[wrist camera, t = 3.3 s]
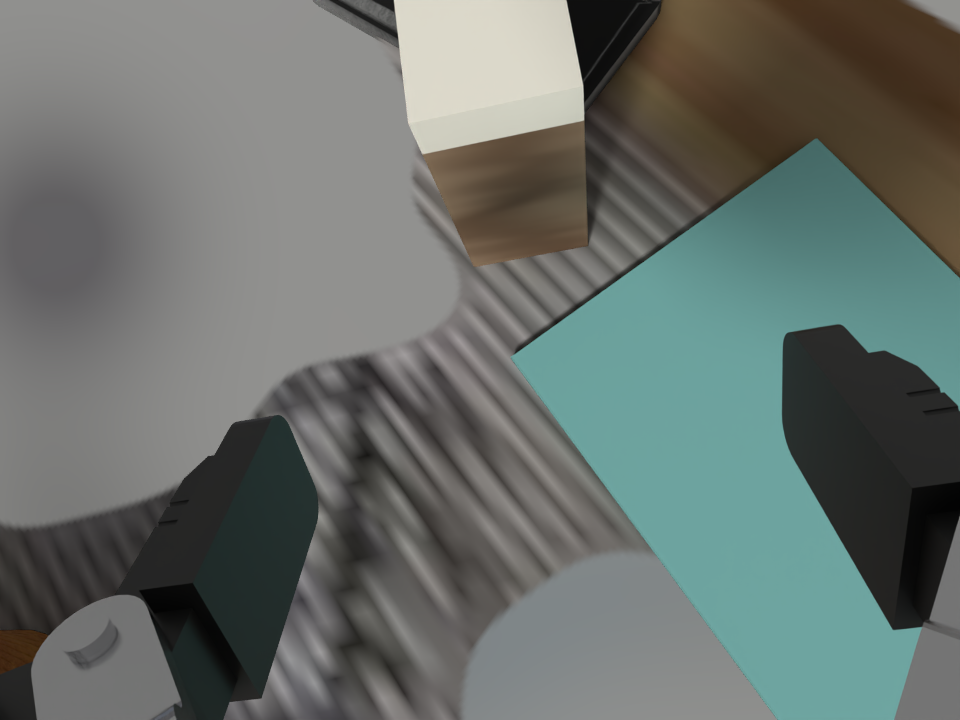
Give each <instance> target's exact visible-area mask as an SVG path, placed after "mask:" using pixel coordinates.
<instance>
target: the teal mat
mask: <svg viewBox="0 0 960 720" xmlns="http://www.w3.org/2000/svg"><path fill="white" fill-rule="evenodd" d="M836 324H841V325H843V326H844V327H845V328H846V329H847V330H848V331H849V332H850V333H851V334H852V335H853V336H854V338H855V339H856V340H857V341H858V342H859V343H860V344H861V345H862V346H863V347H864V348H865V349H866V351H867V352H868V353H870V352H877V351H883V350H885V351H887V352H889V353H891V354H894V355H896V356H898V357H900V358H902V359H904V360H906V361H908V362H910V363H912V364H915V365H917V366H918V367H919V368H920V369H922V370H923V371H924V372H925V373H926V374H927V375H928V376H929V377H930V378H931V379H932V380H933V381H934V382H935V383H936V384H937V385H938V386H939V387H940V391H941V393H942V392H945V393H946V394H947V395H948V396H949V397H950V398H951V399H952V400H953V401H954V402H955V403H956V404H957V405H958V409H959V411H960V278H959V277H958V276H957V275H956V274H955V273H954V272H953V271H952V270H951V269H950V268H949V267H948V266H947V265H946V264H945V263H944V262H943V261H942V260H941V259H940V258H939V257H938V256H937V255H936V254H935V253H933V252H932V251H931V250H930V249H929V248H928V247H927V246H926V245H925V244H924V243H923V242H922V241H921V240H920V239H919V238H918V237H917V236H916V235H915V234H914V233H913V232H912V231H911V230H910V229H909V228H908V227H907V226H906V225H905V224H904V223H903V222H902V221H901V220H900V219H899V218H898V217H897V216H896V215H895V214H894V213H893V212H892V211H891V210H890V209H889V208H888V207H887V206H886V205H884V204H883V203H882V202H881V201H880V200H879V199H878V198H877V197H876V196H875V195H874V194H873V193H872V192H871V191H870V190H869V189H868V188H867V187H866V186H865V185H864V184H863V183H862V182H861V181H860V180H859V179H858V178H857V177H856V176H855V175H854V174H853V173H852V172H851V171H850V170H849V169H848V168H847V167H846V166H845V165H844V164H843V163H842V162H841V161H840V160H839V159H838V158H837V157H835V156H834V155H833V154H832V153H831V152H830V151H829V150H828V149H827V148H826V147H825V146H824V145H823V144H822V143H821V142H820V141H819V140H818V139H817V138H816V139H814V140H813V141H812V142H810V143H809V144H807V145H806V146H805V147H803V148H802V149H800V150H799V151H798V152H796V153H795V154H793V155H792V156H791V157H789V158H788V159H787V160H785V161H784V162H782V163H781V164H780V165H778V166H777V167H775V168H774V169H773V170H771V171H770V172H768V173H767V174H766V175H764V176H763V177H761V178H760V179H759V180H757V181H756V182H754V183H753V184H752V185H750V186H749V187H747V188H746V189H745V190H743V191H742V192H740V193H739V194H738V195H736V196H735V197H733V198H732V199H731V200H729V201H728V202H727V203H725V204H724V205H722V206H721V207H720V208H718V209H717V210H715V211H714V212H713V213H711V214H710V215H708V216H707V217H706V218H704V219H703V220H701V221H700V222H699V223H697V224H696V225H694V226H693V227H692V228H690V229H689V230H687V231H686V232H685V233H683V234H682V235H680V236H679V237H678V238H676V239H675V240H673V241H672V242H671V243H669V244H668V245H667V246H665V247H664V248H662V249H661V250H660V251H658V252H657V253H655V254H654V255H653V256H651V257H650V258H648V259H647V260H646V261H644V262H643V263H641V264H640V265H639V266H637V267H636V268H634V269H633V270H632V271H630V272H629V273H627V274H626V275H625V276H623V277H622V278H620V279H619V280H618V281H616V282H615V283H613V284H612V285H611V286H609V287H608V288H607V289H605V290H604V291H602V292H601V293H600V294H598V295H597V296H595V297H594V298H593V299H591V300H590V301H588V302H587V303H586V304H584V305H583V306H581V307H580V308H579V309H577V310H576V311H574V312H573V313H572V314H570V315H569V316H567V317H566V318H565V319H563V320H562V321H560V322H559V323H558V324H556V325H555V326H553V327H552V328H551V329H549V330H548V331H547V332H545V333H544V334H542V335H541V336H540V337H538V338H537V339H535V340H534V341H533V342H531V343H530V344H528V345H527V346H526V347H524V348H523V349H521V350H520V351H519V352H517V353H516V354H514V355H513V356H512V357H511V359H512V361H513V362H514V363H515V365H516V366H517V367H518V369H519V370H520V371H521V373H522V374H523V376H524V377H525V378H526V380H527V381H528V382H529V384H530V385H531V386H532V388H533V389H534V390H535V392H536V393H537V395H538V396H539V397H540V399H541V400H542V401H543V403H544V404H545V405H546V407H547V408H548V409H549V411H550V412H551V413H552V415H553V416H554V418H555V419H556V420H557V422H558V423H559V424H560V426H561V427H562V428H563V430H564V431H565V432H566V434H567V435H568V437H569V438H570V439H571V441H572V442H573V443H574V445H575V446H576V447H577V449H578V450H579V451H580V453H581V454H582V456H583V457H584V458H585V460H586V461H587V462H588V464H589V465H590V466H591V468H592V469H593V470H594V472H595V473H596V475H597V476H598V477H599V479H600V480H601V481H602V483H603V484H604V485H605V487H606V488H607V489H608V491H609V492H610V493H611V495H612V496H613V498H614V499H615V500H616V502H617V503H618V504H619V506H620V507H621V508H622V510H623V511H624V512H625V514H626V515H627V517H628V518H629V519H630V521H631V522H632V523H633V525H634V526H635V527H636V529H637V530H638V531H639V533H640V534H641V536H642V537H643V538H644V540H645V541H646V542H647V544H648V545H649V546H650V548H651V549H652V550H653V552H654V553H655V555H656V556H657V557H658V559H659V560H660V561H661V563H662V564H663V565H664V567H665V568H666V569H667V571H668V572H669V573H670V575H671V576H672V578H673V579H674V580H675V581H676V583H677V584H678V586H679V587H680V588H681V590H682V591H683V592H684V594H685V595H686V596H687V598H688V599H689V601H690V602H691V603H692V605H693V606H694V607H695V609H696V610H697V611H698V613H699V614H700V616H701V617H702V618H703V620H704V621H705V622H706V624H707V625H708V626H709V628H710V629H711V630H712V632H713V633H714V634H715V636H716V637H717V638H718V640H719V641H720V643H721V644H722V645H723V647H724V648H725V649H726V650H727V652H728V653H729V655H730V656H731V658H732V659H733V660H734V662H735V663H736V664H737V666H738V667H739V668H740V670H741V671H742V672H743V674H744V675H745V677H746V678H747V679H748V681H749V682H750V683H751V685H752V686H753V687H754V689H755V690H756V691H757V693H758V694H759V696H760V697H761V698H762V700H763V701H764V702H765V704H766V705H767V706H768V708H769V709H770V710H771V712H772V713H773V714H774V716H775V717H776V718H777V720H894V718H895V715H896V711H897V708H898V705H899V701H900V698H901V695H902V691H903V688H904V685H905V681H906V678H907V675H908V671H909V668H910V665H911V661H912V658H913V655H914V651H915V648H916V645H917V641H918V638H919V635H920V632H921V629H922V627H919V628H910V629H901V630H892V628H891V626H890V624H889V623H888V621H887V619H886V618H885V616H884V614H883V612H882V611H881V609H880V607H879V605H878V604H877V602H876V600H875V599H874V597H873V595H872V593H871V592H870V590H869V588H868V587H867V585H866V583H865V581H864V580H863V578H862V576H861V574H860V573H859V571H858V569H857V568H856V566H855V564H854V562H853V561H852V559H851V557H850V556H849V554H848V552H847V550H846V549H845V547H844V545H843V543H842V542H841V540H840V538H839V537H838V535H837V533H836V531H835V530H834V528H833V526H832V525H831V523H830V521H829V519H828V518H827V516H826V514H825V512H824V511H823V509H822V507H821V506H820V504H819V502H818V500H817V499H816V497H815V495H814V494H813V492H812V490H811V488H810V487H809V485H808V483H807V481H806V480H805V478H804V476H803V475H802V473H801V471H800V469H799V468H798V466H797V464H796V463H795V461H794V459H793V457H792V455H791V453H790V451H789V449H788V446H787V443H786V439H785V435H784V430H783V424H782V359H783V340H784V337H785V335H786V334H787V333H788V332H793V331H799V330H805V329H811V328H817V327H824V326H830V325H836Z"/></svg>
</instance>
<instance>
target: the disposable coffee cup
mask: <svg viewBox="0 0 960 720" xmlns="http://www.w3.org/2000/svg"><path fill="white" fill-rule="evenodd" d="M47 637H48V635H47V634H44V633H41V632H37V631H34V630H0V674H2V673H5V672H7V671H10V670H12V669H15V668H17V667H20V666H23V665H25V664H28V663H30V662H33V660H34V658H35V656H36V654H37V652H38V650H39V648H40V647H41V645H42V644H43V642H44V641H45V640H46V639H47Z"/></svg>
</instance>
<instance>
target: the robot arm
mask: <svg viewBox="0 0 960 720" xmlns="http://www.w3.org/2000/svg"><path fill="white" fill-rule="evenodd" d="M782 424H783V430H784V435H785V439H786V443H787V446H788V449H789V451H790V453H791V455H792V457H793V459H794V461H795V463H796V464H797V466H798V468H799V469H800V471H801V473H802V475H803V476H804V478H805V480H806V481H807V483H808V485H809V487H810V488H811V490H812V492H813V494H814V495H815V497H816V499H817V500H818V502H819V504H820V506H821V507H822V509H823V511H824V512H825V514H826V516H827V518H828V519H829V521H830V523H831V525H832V526H833V528H834V530H835V531H836V533H837V535H838V537H839V538H840V540H841V542H842V543H843V545H844V547H845V549H846V550H847V552H848V554H849V556H850V557H851V559H852V561H853V562H854V564H855V566H856V568H857V569H858V571H859V573H860V574H861V576H862V578H863V580H864V581H865V583H866V585H867V587H868V588H869V590H870V592H871V593H872V595H873V597H874V599H875V600H876V602H877V604H878V605H879V607H880V609H881V611H882V612H883V614H884V616H885V618H886V619H887V621H888V623H889V624H890V626H891V628H892V630H901V629H910V628H919V627H922V629H921V632H920V635H919V638H918V641H917V645H916V648H915V651H914V655H913V658H912V661H911V665H910V668H909V671H908V675H907V678H906V681H905V685H904V688H903V691H902V695H901V698H900V701H899V705H898V708H897V711H896V715H895V718H894V720H960V411H959V409H958V405H957V404H956V403H955V402H954V401H953V400H952V399H951V398H950V397H949V396H948V395H947V394H946V393H945V392H942V393H941V391H940V387H939V386H938V385H937V384H936V383H935V382H934V381H933V380H932V379H931V378H930V377H929V376H928V375H927V374H926V373H925V372H924V371H923V370H922V369H920V368H919V367H918V366H917V365H915V364H912V363H910V362H908V361H906V360H904V359H902V358H900V357H898V356H896V355H894V354H891V353H889V352H887V351H885V350H883V351H877V352H870V353H868V352H867V351H866V349H865V348H864V347H863V346H862V345H861V344H860V343H859V342H858V341H857V340H856V339H855V338H854V336H853V335H852V334H851V333H850V332H849V331H848V330H847V329H846V328H845V327H844V326H843V325H841V324H836V325H830V326H824V327H817V328H811V329H805V330H799V331H793V332H788V333H787V334H786V335H785V337H784V340H783V359H782ZM317 520H318V498H317V492H316V488H315V485H314V483H313V480H312V478H311V476H310V473H309V471H308V469H307V466H306V464H305V462H304V459H303V457H302V454H301V452H300V450H299V447H298V445H297V443H296V440H295V438H294V436H293V433H292V431H291V429H290V426H289V424H288V423H287V421H286V420H285V419H284V418H283V417H282V416H280V415H275V416H269V417H263V418H257V419H251V420H245V421H239V422H235V423H234V424H232V425H231V427H230V429H229V430H228V432H227V434H226V435H225V437H224V439H223V441H222V443H221V444H220V446H219V448H218V450H217V452H216V453H215V455H214V456H208V457H207V458H206V459H205V460H204V461H203V462H202V463H200V464H199V465H198V466H197V467H196V468H195V469H194V470H193V471H192V472H191V473H190V474H189V475H188V476H187V477H185V478H184V480H183V481H182V483H181V485H180V486H179V488H178V490H177V491H176V493H175V495H174V497H173V498H172V500H171V502H170V507H167V508H166V510H165V512H164V513H163V515H162V517H161V518H160V520H159V522H158V523H159V527H155V528H154V530H153V532H152V534H151V535H150V537H149V539H148V540H147V542H146V544H145V545H144V547H143V549H142V550H141V552H140V554H139V555H138V557H137V559H136V560H135V562H134V564H133V566H132V567H131V569H130V571H129V572H128V574H127V576H126V577H125V579H124V581H123V582H122V584H121V586H120V587H119V589H118V591H117V592H116V594H115V596H111V597H108V598H104V599H101V600H99V601H96V602H94V603H92V604H90V605H88V606H86V607H84V608H82V609H80V610H79V611H77V612H76V613H74V614H73V615H71V616H70V617H69V618H67V619H66V620H65V621H64V622H62V623H61V624H60V625H59V626H58V627H57V628H56V629H55V630H54V631H53V632H52V633H51V634H50V635H49V636H48V637H47V639H46V640H45V641H44V642H43V644H42V645H41V647H40V648H39V650H38V652H37V654H36V656H35V658H34V660H33V662H30V663H28V664H25V665H23V666H20V667H17V668H15V669H12V670H10V671H7V672H5V673H2V674H0V720H223V719H224V716H225V713H226V710H227V707H228V705H229V702H233V701H242V700H251V699H260V698H262V695H263V691H264V688H265V685H266V682H267V679H268V676H269V672H270V669H271V666H272V663H273V660H274V657H275V654H276V650H277V647H278V644H279V641H280V638H281V635H282V631H283V628H284V625H285V622H286V619H287V616H288V612H289V609H290V606H291V603H292V600H293V597H294V594H295V590H296V587H297V584H298V581H299V578H300V575H301V571H302V568H303V565H304V562H305V559H306V556H307V552H308V549H309V546H310V543H311V540H312V537H313V533H314V530H315V527H316V524H317Z"/></svg>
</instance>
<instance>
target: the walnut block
mask: <svg viewBox="0 0 960 720" xmlns="http://www.w3.org/2000/svg"><path fill="white" fill-rule="evenodd" d="M394 6H395V14H396V23H397V31H398V40H399V48H400V56H401V65H402V73H403V82H404V90H405V99H406V106H407V115H408V124H409V126H410V128H411V130H412V133H413V135H414V137H415V139H416V141H417V143H418V146H419V148H420V150H421V152H422V154H423V157H424V159H425V161H426V163H427V165H428V167H429V170H430V172H431V174H432V176H433V178H434V181H435V183H436V185H437V187H438V189H439V191H440V194H441V196H442V198H443V200H444V202H445V205H446V207H447V209H448V211H449V213H450V216H451V218H452V220H453V222H454V224H455V226H456V229H457V231H458V233H459V235H460V237H461V240H462V242H463V244H464V246H465V248H466V250H467V253H468V255H469V257H470V259H471V261H472V264H473V266H474V267H477V266H482V265H488V264H493V263H498V262H504V261H509V260H514V259H520V258H525V257H531V256H536V255H541V254H547V253H552V252H557V251H563V250H568V249H573V248H579V247H584V246H588V231H587V196H586V161H585V127H584V92H583V82H582V77H581V72H580V67H579V62H578V57H577V52H576V47H575V41H574V36H573V31H572V26H571V21H570V16H569V11H568V6H567V1H566V0H394Z"/></svg>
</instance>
